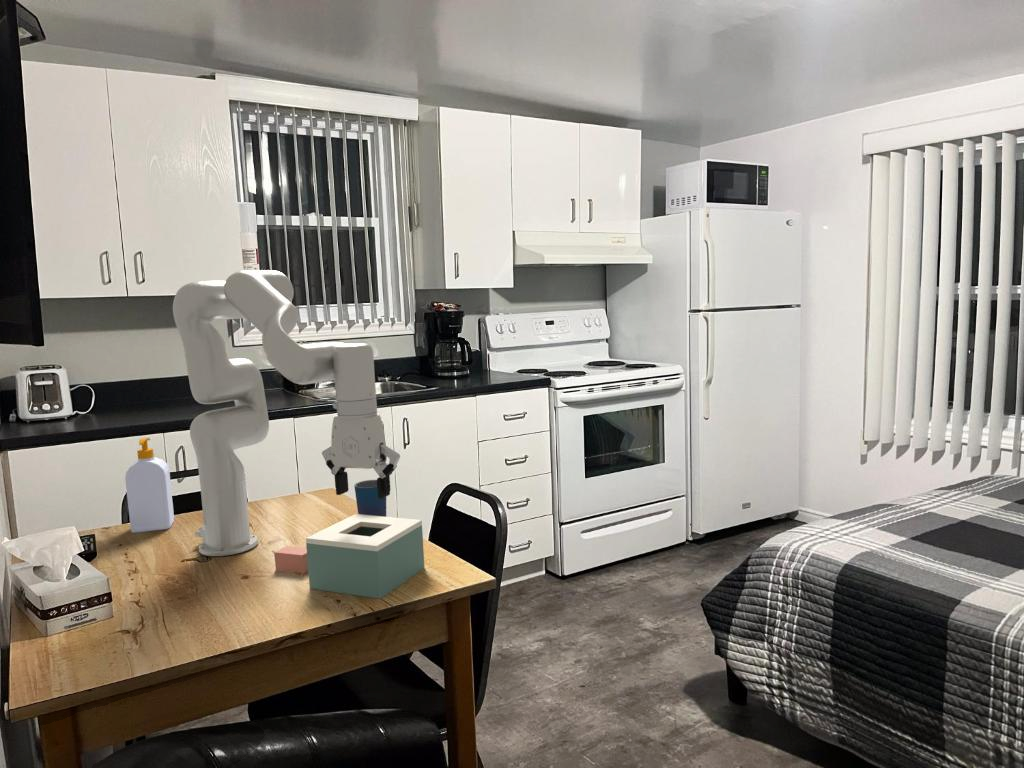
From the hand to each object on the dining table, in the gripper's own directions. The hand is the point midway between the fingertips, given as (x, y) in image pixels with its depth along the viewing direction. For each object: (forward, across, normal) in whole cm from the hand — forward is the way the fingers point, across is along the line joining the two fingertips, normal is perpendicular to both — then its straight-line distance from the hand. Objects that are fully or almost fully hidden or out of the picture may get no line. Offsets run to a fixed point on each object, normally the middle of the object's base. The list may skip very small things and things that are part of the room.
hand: (363, 494), depth 143 cm
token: (+17, -18, 0) cm, 25 cm away
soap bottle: (+17, -73, +12) cm, 76 cm away
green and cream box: (+17, 0, 0) cm, 17 cm away
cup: (+17, -8, +14) cm, 23 cm away
